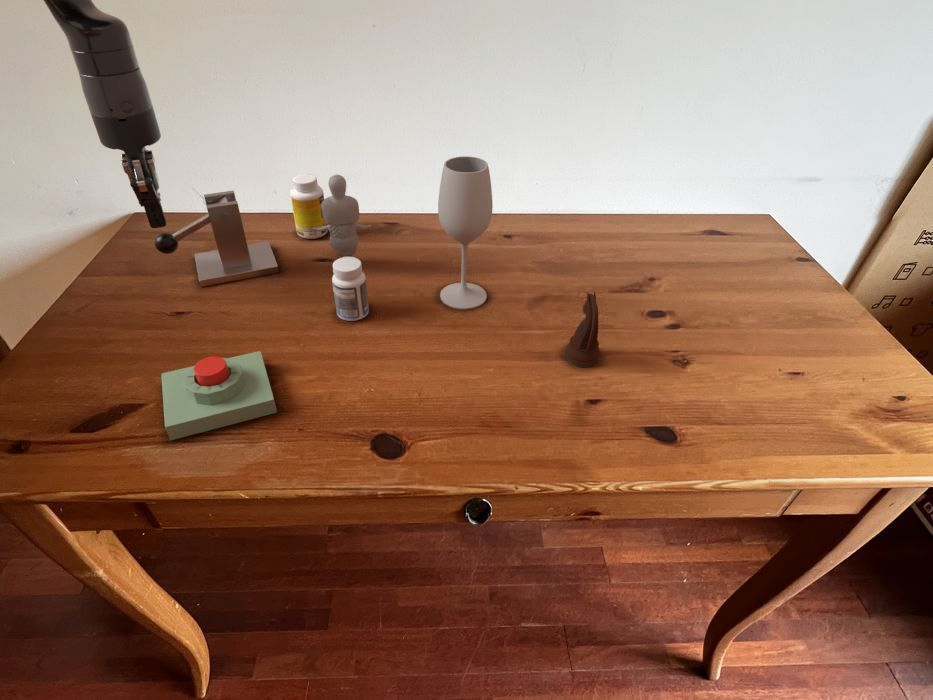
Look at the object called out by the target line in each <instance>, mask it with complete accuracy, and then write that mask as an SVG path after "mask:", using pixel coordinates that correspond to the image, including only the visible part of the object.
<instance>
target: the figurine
mask: <svg viewBox="0 0 933 700" xmlns="http://www.w3.org/2000/svg"><path fill="white" fill-rule="evenodd" d="M327 185H328V189H329V191H330V194H331V196H328V197H326V198H324V200H323V201H322V204H321V208H322V215H323V218H324V221H325V222H326V223H327V226H324V227H321V228H312V229H313V230H315V231H326V230H328V231H329V243H328V244H329V246H330V247H331V248H332V249H333V252H334V253H335V254H336V255H337V256H338V257H339V258H342V257H353V255H354V254H356V252H357V248H358V246H359V244H360V243H359V242H360V241H359V237H358V235H357V234H358V232H357V230H368V229H370V228H372V227H373V225H372V224H368V225H364V224H358V223H357V222H358V221H359V219H360V206H359V201H358V200H357V199H356V198H355V197H353V196H350V195H346V191H347V181H346V179H345V177H344V176H342V175H341V174H333V175H331V176H330V177H329V178H328V184H327Z"/></svg>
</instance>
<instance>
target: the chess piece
mask: <svg viewBox="0 0 933 700" xmlns="http://www.w3.org/2000/svg"><path fill="white" fill-rule="evenodd" d="M582 312H583V315H585V317H584V318H583V319H582V320H581V322H580V323H579V324H578V326H577V328H576V329H575V331H574V334H573V335H572V336H571V337H570V339H569V342H568V343H567V345H566V347H565V352H564V357H565V358H566V359H565V360H567V362H568V363H570V364H572V365H573V366H576V367H579V368H589V367H593V366H595V365H596V364H597V363H598V362H599V360H600V347H599V345H600V343H599V341H598V338H599V307H598V303H597V296H596V292H595V291H594V292H593V293H589V291H587V292H586V300H585V301H584V304H583V305H582Z"/></svg>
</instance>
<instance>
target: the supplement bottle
mask: <svg viewBox="0 0 933 700" xmlns="http://www.w3.org/2000/svg"><path fill="white" fill-rule="evenodd" d="M292 183H293V187H292V188H291V190H290V192H289V194H290V200H291V206H292V213H293V218H294V219H293V220H294V226H295V230H296V231H295V232H296V234H297V235H298V236H299V237H300V238H303V239H306V240H315V239H320V238H322V237H324V236H325V235H326V234H327V233H328V231H329V230H326V231H315V230H313V229H312V228H321V227H324V226H327V225H328V224H327V223H326V222H325V221H324V218H323V215H322V208H321V204H322V201H323V200H324V199H325V194H324V190H323V188H322V187H321V186H319V182H318V178H317V176H316V175H314V174H310V173H302V174H298V175H296V176H294V177H293V178H292Z"/></svg>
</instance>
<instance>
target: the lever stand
mask: <svg viewBox="0 0 933 700" xmlns="http://www.w3.org/2000/svg"><path fill="white" fill-rule="evenodd" d="M203 197H204V201H205V206H206V210H207V214H209V218H210V222H211V223H210V225H211V228H212V233H213V237H214V241H215V244H216V248H217V249H214V250H210V251H208V250H207V251H203V252H197V253H194V260H195V265H196V271H197V277H198V282H199V286H200V287H201V288H203V287H209V286H215V285H219V284H224V283H229V282H235V281H240V280H246V279H251V278H256V277H261V276H267V275H273V274H278V273H280V270H279V264H278V262H277V259H276V257H275V254H274V252H273V249H272V247H271V244H270V241H269V240H266V241H262V242H255V243H249V244H248V242H247V238H246V234H245V229H244V225H243V220H242V215H241V212H240V211H241V210H240V206H239V203H238V201H237V197H236V194H235V190H227V191H220V192H212V193H207V194H203ZM223 197H226V198H227V199H228V200H229V201H230V202H225V203H218V204H213V203H215V202H217V201H218V200H220V199H222V198H223Z"/></svg>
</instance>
